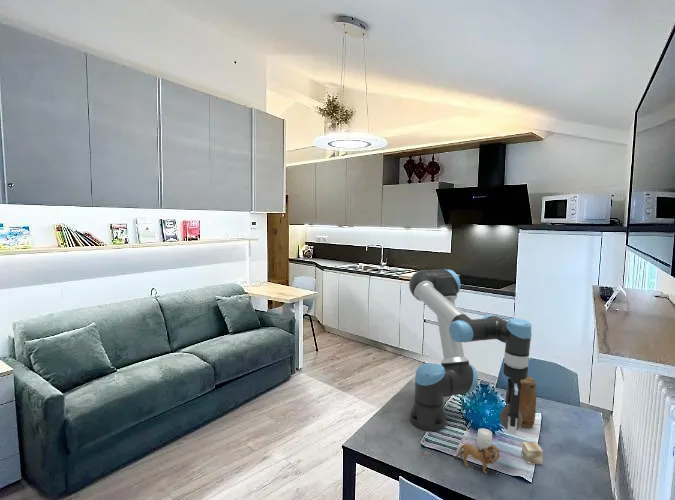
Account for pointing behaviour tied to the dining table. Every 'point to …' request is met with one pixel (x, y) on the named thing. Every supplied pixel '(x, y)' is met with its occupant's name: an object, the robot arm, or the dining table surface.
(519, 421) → the vase
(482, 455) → the lion figurine
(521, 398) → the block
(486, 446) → the white cylinder
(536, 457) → the birch block
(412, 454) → the dining table surface
